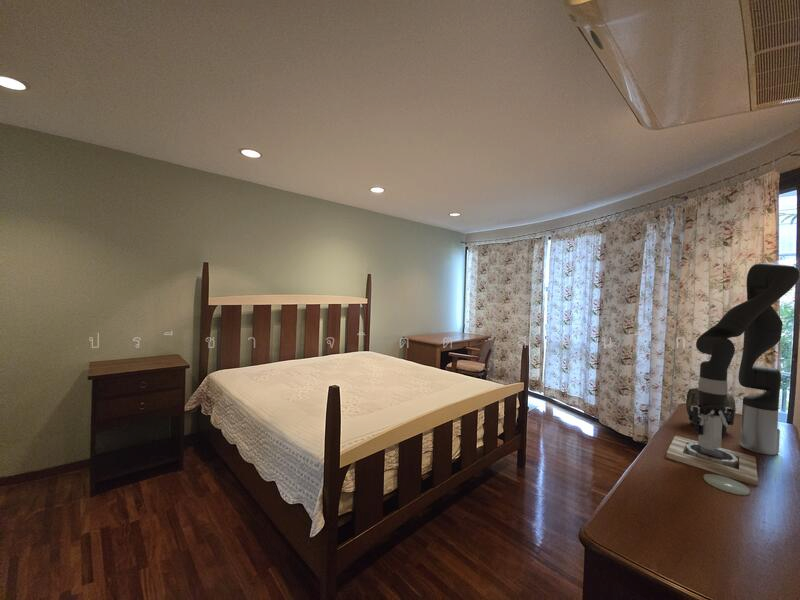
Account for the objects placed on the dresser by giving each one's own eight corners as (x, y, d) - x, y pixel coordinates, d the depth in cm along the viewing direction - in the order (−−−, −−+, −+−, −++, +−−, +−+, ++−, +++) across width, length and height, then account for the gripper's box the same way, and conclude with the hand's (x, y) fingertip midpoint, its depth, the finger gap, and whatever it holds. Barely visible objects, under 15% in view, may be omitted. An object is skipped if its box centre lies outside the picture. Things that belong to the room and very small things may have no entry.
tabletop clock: (685, 423, 147) (687, 371, 147) (695, 420, 151) (697, 370, 150) (726, 436, 134) (729, 379, 134) (736, 433, 137) (739, 377, 137)
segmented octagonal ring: (712, 452, 119) (712, 444, 119) (748, 471, 106) (748, 462, 106) (677, 450, 120) (677, 442, 120) (708, 468, 107) (709, 460, 107)
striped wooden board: (674, 440, 128) (675, 435, 128) (755, 462, 112) (755, 457, 112) (666, 457, 114) (666, 452, 114) (757, 486, 97) (757, 479, 97)
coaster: (726, 476, 102) (726, 474, 102) (760, 496, 92) (760, 494, 92) (694, 474, 103) (695, 473, 103) (725, 494, 93) (725, 492, 93)
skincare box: (706, 442, 117) (707, 411, 116) (722, 448, 112) (723, 415, 112) (697, 445, 114) (698, 413, 114) (713, 451, 110) (714, 417, 110)
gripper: (700, 392, 110) (698, 438, 110) (743, 394, 109) (741, 440, 109) (682, 386, 117) (680, 429, 118) (723, 388, 116) (720, 431, 117)
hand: (710, 434), depth 113 cm, fingers closed on skincare box, 7 cm apart
